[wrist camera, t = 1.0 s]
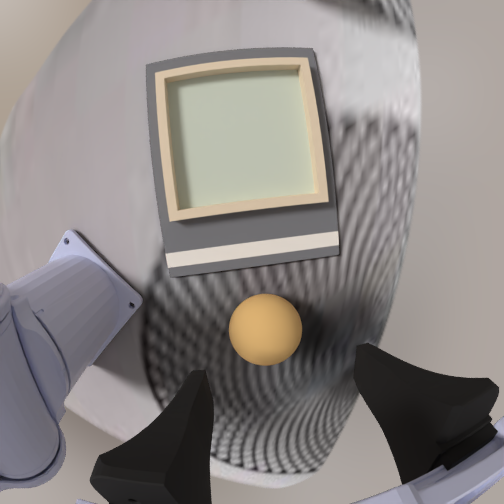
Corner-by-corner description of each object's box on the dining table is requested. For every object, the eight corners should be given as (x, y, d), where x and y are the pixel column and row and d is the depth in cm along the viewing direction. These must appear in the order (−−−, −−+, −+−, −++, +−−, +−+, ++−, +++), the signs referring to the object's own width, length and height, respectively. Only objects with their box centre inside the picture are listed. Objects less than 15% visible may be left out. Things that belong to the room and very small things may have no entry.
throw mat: (337, 253, 20) (344, 257, 18) (171, 276, 19) (167, 282, 18) (311, 49, 16) (316, 42, 15) (147, 66, 15) (142, 59, 14)
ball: (261, 352, 21) (269, 391, 16) (215, 315, 20) (211, 351, 15) (306, 311, 20) (325, 344, 16) (261, 270, 19) (271, 296, 15)
